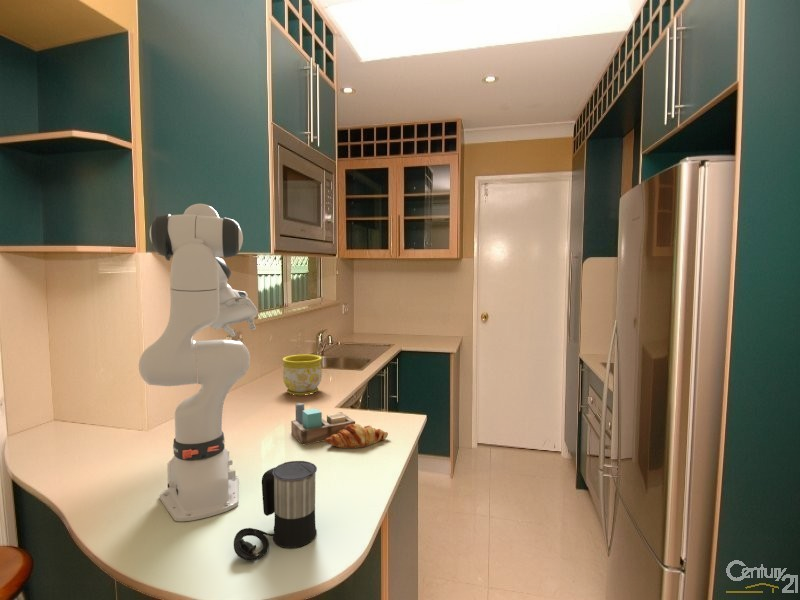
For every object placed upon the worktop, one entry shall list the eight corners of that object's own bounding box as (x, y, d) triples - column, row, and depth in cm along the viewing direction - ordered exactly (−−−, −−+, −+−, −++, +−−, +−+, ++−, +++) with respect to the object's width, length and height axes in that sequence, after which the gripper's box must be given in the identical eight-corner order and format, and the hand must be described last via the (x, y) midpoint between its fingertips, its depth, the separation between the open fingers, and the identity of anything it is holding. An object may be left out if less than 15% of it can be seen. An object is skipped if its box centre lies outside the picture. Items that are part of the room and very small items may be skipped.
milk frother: (324, 527, 98) (323, 462, 97) (289, 574, 83) (288, 498, 82) (267, 518, 102) (266, 455, 101) (223, 561, 86) (222, 488, 86)
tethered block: (321, 438, 151) (321, 412, 150) (307, 440, 148) (307, 414, 147) (305, 423, 165) (305, 399, 165) (292, 425, 163) (291, 401, 162)
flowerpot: (306, 399, 195) (305, 363, 194) (274, 394, 203) (274, 359, 202) (329, 390, 211) (329, 356, 210) (299, 385, 219) (299, 353, 218)
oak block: (345, 433, 155) (345, 416, 155) (332, 436, 152) (332, 419, 152) (339, 429, 159) (339, 412, 159) (326, 431, 157) (326, 415, 156)
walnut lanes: (355, 434, 154) (355, 421, 154) (302, 444, 144) (302, 431, 144) (341, 423, 165) (341, 412, 164) (291, 433, 155) (291, 420, 154)
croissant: (384, 446, 153) (381, 422, 156) (394, 442, 144) (390, 417, 147) (324, 454, 145) (321, 429, 148) (330, 450, 136) (328, 424, 139)
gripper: (206, 300, 148) (227, 334, 147) (249, 291, 167) (268, 321, 165) (196, 310, 151) (217, 344, 150) (239, 300, 169) (258, 330, 168)
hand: (244, 332), depth 158 cm, fingers open, 8 cm apart
